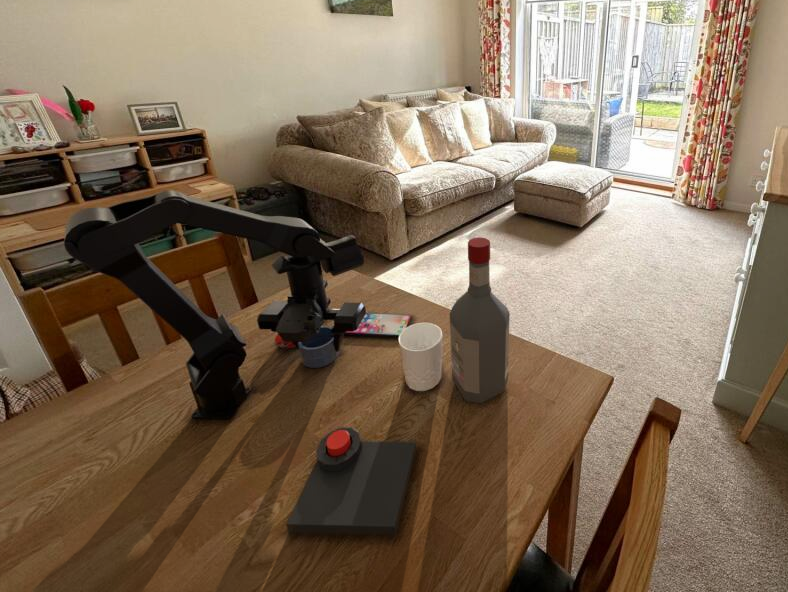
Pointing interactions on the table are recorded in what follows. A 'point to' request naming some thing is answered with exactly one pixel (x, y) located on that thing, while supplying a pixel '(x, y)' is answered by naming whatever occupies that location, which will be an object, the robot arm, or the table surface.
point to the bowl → (318, 349)
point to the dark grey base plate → (355, 489)
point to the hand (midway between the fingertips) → (319, 349)
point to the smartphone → (381, 325)
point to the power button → (338, 443)
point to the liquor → (479, 332)
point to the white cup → (421, 355)
